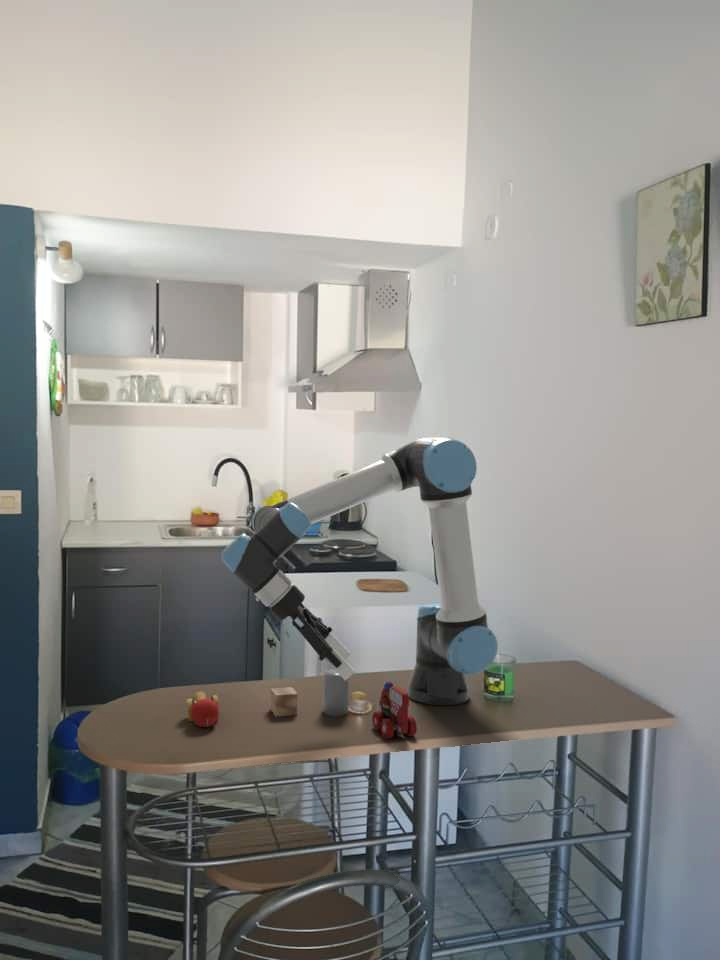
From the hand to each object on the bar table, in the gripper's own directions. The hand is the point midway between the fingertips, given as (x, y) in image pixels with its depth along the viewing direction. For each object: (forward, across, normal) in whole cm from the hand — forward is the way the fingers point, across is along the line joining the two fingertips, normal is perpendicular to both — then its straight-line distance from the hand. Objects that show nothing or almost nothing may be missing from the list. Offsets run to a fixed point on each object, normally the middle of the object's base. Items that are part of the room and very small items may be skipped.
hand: (348, 666), depth 180 cm
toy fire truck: (+18, 0, -3) cm, 18 cm away
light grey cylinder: (+9, -13, -11) cm, 19 cm away
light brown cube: (0, -12, -20) cm, 23 cm away
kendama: (-12, -9, -33) cm, 36 cm away
